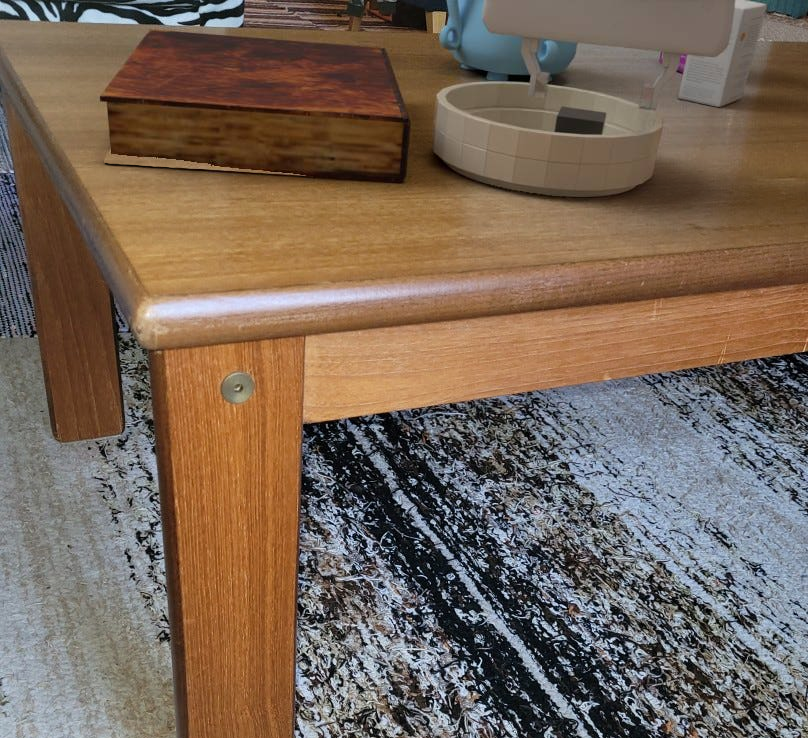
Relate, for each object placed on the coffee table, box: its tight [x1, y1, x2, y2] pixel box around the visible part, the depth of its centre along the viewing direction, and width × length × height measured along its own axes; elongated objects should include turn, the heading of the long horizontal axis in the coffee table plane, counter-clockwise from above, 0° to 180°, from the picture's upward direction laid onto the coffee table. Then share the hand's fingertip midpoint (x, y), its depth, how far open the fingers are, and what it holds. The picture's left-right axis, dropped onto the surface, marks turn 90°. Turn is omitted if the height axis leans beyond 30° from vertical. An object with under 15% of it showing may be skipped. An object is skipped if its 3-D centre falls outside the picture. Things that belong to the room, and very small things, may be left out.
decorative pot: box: [438, 0, 579, 82], centre depth 118 cm, size 16×16×14 cm
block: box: [554, 107, 606, 135], centre depth 86 cm, size 4×4×4 cm
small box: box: [677, 0, 768, 108], centre depth 117 cm, size 8×6×10 cm
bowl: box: [431, 80, 664, 198], centre depth 87 cm, size 20×20×5 cm
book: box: [99, 28, 412, 184], centre depth 90 cm, size 30×24×5 cm
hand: (591, 102), depth 85 cm, fingers open, 8 cm apart
